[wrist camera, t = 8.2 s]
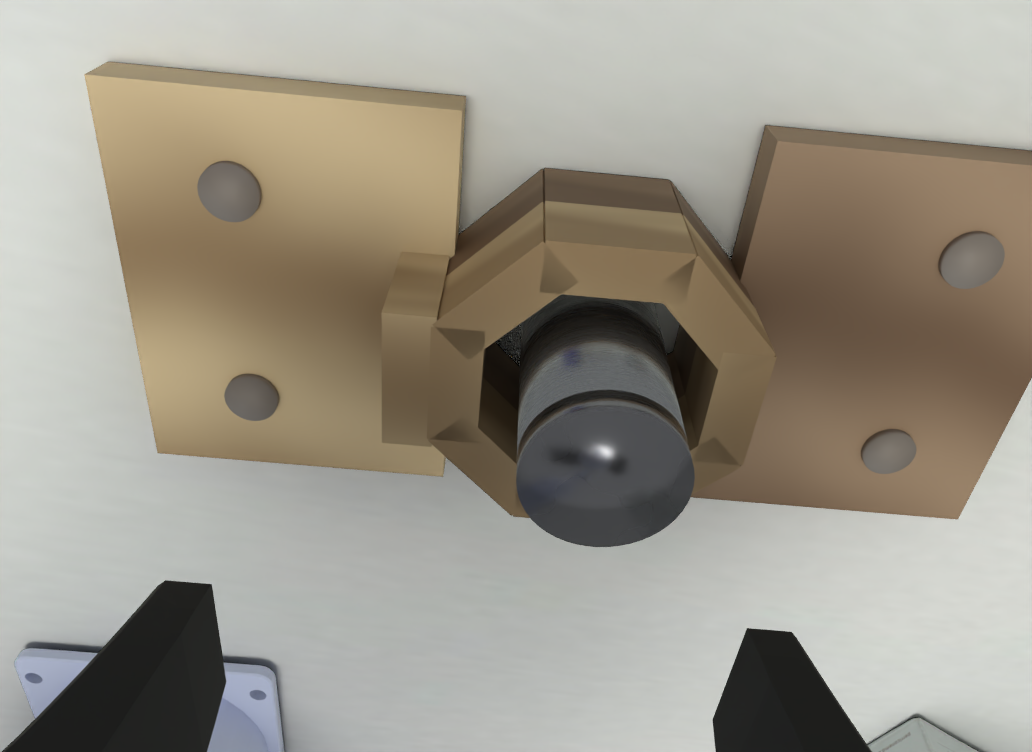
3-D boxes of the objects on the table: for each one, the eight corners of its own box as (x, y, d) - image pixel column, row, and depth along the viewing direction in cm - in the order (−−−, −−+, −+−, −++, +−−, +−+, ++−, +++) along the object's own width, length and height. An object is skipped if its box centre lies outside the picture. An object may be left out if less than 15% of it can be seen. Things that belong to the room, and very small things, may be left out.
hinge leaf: (684, 471, 22) (708, 575, 18) (172, 428, 21) (112, 527, 18) (775, 126, 17) (827, 192, 14) (107, 61, 16) (9, 114, 13)
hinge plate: (941, 492, 22) (971, 542, 20) (438, 450, 21) (431, 498, 20) (1107, 158, 17) (1163, 190, 15) (455, 95, 16) (447, 122, 15)
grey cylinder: (645, 367, 20) (680, 549, 15) (519, 363, 20) (513, 543, 15) (661, 252, 18) (708, 414, 13) (524, 247, 18) (519, 407, 13)
